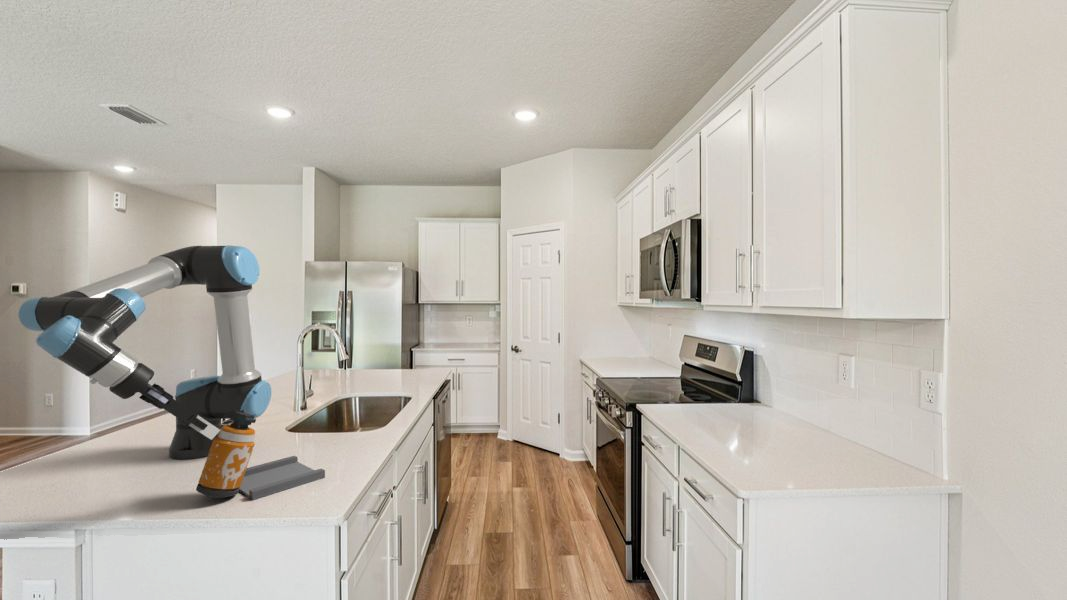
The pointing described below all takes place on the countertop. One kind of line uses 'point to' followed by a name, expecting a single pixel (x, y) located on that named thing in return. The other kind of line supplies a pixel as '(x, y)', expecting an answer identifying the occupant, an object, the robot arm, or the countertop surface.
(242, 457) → the canister
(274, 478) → the tray
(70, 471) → the countertop surface
